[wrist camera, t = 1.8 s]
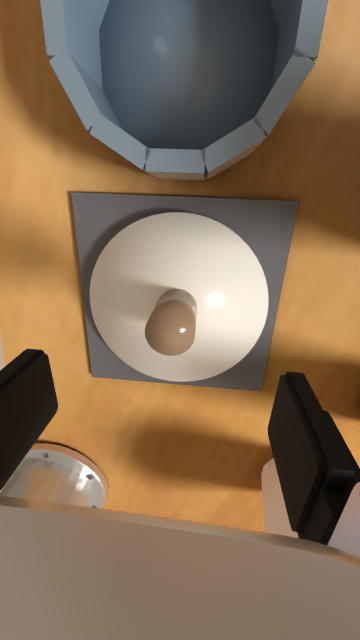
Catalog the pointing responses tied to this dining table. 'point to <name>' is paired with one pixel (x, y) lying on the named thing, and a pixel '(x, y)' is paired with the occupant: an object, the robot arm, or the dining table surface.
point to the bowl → (182, 74)
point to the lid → (179, 296)
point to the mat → (237, 214)
